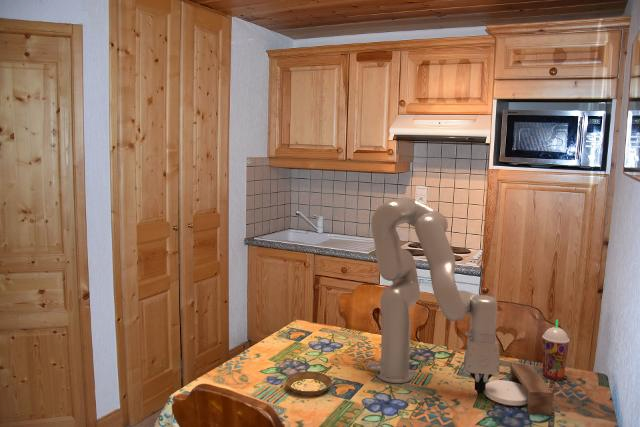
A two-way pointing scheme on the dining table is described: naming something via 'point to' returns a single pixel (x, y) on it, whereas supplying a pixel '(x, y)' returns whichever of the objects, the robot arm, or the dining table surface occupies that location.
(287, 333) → the dining table surface
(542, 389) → the walnut bridge
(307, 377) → the plant saucer
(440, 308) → the robot arm
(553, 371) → the smoothie
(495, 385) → the plastic lid
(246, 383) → the dining table surface
